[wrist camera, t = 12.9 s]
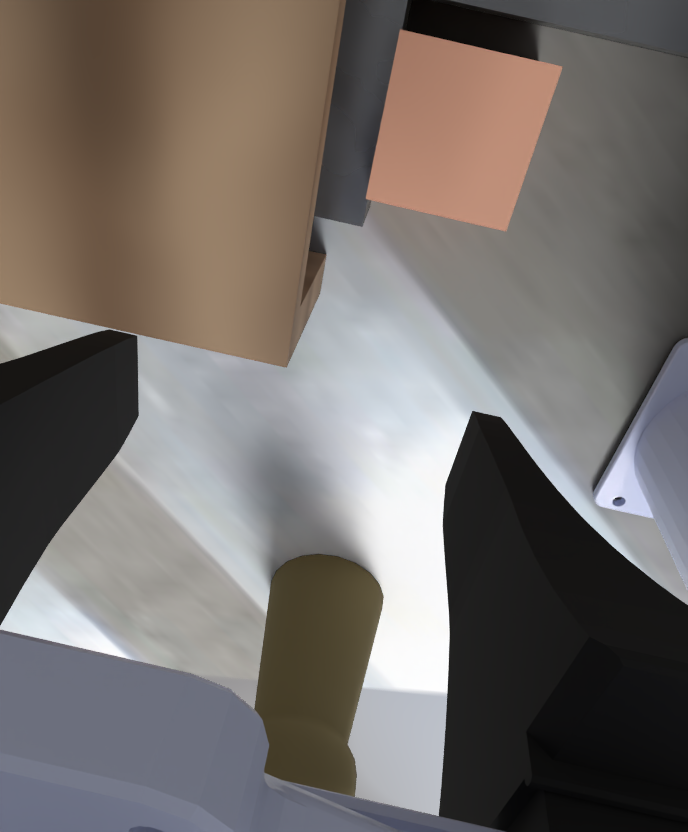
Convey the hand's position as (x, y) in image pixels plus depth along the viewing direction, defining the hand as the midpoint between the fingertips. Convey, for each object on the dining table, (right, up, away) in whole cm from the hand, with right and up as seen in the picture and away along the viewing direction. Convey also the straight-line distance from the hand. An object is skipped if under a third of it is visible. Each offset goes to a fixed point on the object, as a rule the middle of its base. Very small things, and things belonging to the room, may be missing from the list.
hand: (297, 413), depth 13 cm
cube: (+4, +9, +6) cm, 12 cm away
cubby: (-3, +11, +6) cm, 13 cm away
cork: (0, -9, +19) cm, 21 cm away
